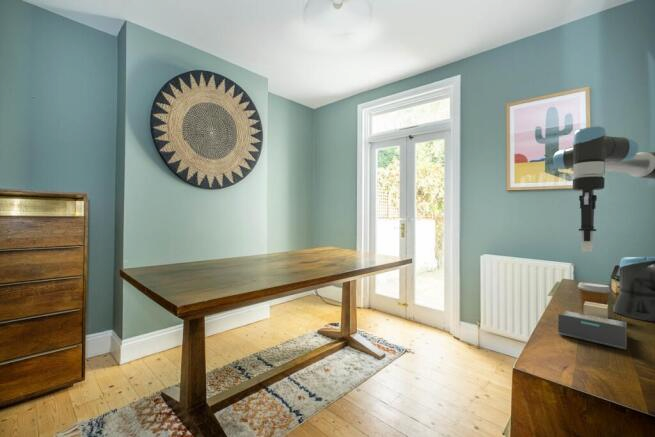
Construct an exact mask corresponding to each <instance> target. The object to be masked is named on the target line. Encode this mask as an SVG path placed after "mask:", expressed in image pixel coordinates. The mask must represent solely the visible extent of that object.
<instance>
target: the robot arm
mask: <svg viewBox="0 0 655 437" xmlns="http://www.w3.org/2000/svg"><path fill="white" fill-rule="evenodd" d="M638 150H639V145H638V142H637V141H636V140H634V139H633V138H628V137H626V136H625V137H623V136H621V137H620V136H608V135H607V133H606V129H605V127H603V126H600V125H599V126H598V125H597V126H587V127H584V128H580V129H578V130H576V131H575V132H574V134H573V143H572V146H571V147H565V148H564V149H560V150H558V151H556V152H555V153H554V155H553V158H552V159H553V161H552V162H553V165H554V167H556V168H557V169H559V170H570V171H571V172H572V174H573V175H572V177H574V178H573V179H572V190H573V191H578V192H581V191H582V193H581V195H579V196H578V200H579V209H580V218H581V219H580V221H581V222H580V228H579V229H578V232H580V231H581V239H580V240H581V241H580V242H581V243H580V244H581V247H580V248H581V250H580V251H581V252H585V253H593V252H594V232H596V231H597V229H595V226H594V223H595V221H594V220H595V218H594V217H595V209H596V208H597V207H596V203H597V200H598V199H597V198H598V196H597V194H594V191H599V190H604V189H605V177H604V176H605V174H606V172H611V173H619V174H621V173H622V174H628V175H629V176H631V177H633V178H640V179H641V178H642V179H648V180H649V179H650V180H651V179H653V180H655V151H651V152H650V151H649V152H647V151H641V152H639V151H638ZM618 268H619V294H618V296H617V298H616V300H615V303H614V304H613V309H612V310H613V313H615V312H616V313H615V314H617V313H618V314H617V315H620V314H621V315H620V316H623V315H624V316H623V317H626V318H631V319H636V320H640V321H641V320H642V321H646V320H647V321H648V322H654V321H655V256H626V257H625V256H623V257H622V258H621V259H620V261H619V267H618Z"/></svg>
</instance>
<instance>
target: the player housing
mask: <svg viewBox="0 0 655 437" xmlns="http://www.w3.org/2000/svg"><path fill="white" fill-rule="evenodd" d="M563 315H568V316H573V317H579V318H584V319H589V320H594V321H599V322H604V323H610V324H615V325H620V326H625V327H626V329H627V321H624V320H619V319H613V318H609V317H608V318H603V317H598V316H592V315H587V314H583V313H580V312H574V311H570V310H564V312H563ZM558 335H562V336H567V337H570V338H575V339H579V340H584V341H586V342H587V341H588V342H591V343H596V344H602V345H604V346H609V347H614V348H617V349H622V350H627V347H626V348H625V347H621V346H617V345H612V344H608V343H603V342H599V341H595V340H590V339H586V338H582V337H577V336H573V335H569V334H564V333H560V332H558Z"/></svg>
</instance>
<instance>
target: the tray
mask: <svg viewBox="0 0 655 437" xmlns="http://www.w3.org/2000/svg"><path fill="white" fill-rule="evenodd" d="M563 314H564V313H563ZM563 314H562V313H558V315H557V317H558V321H557V323H558V324H557V326H558V327H557V330H558V333H559V332H560V333H564V334H569V335H573V336H577V337H582V338H586V339H590V340H595V341H599V342H603V343H608V344H612V345H617V346H621V347H625V348H626V349H627V328H626V327H625V326H620V325H615V324H610V323H604V322H599V321H594V320H589V319H584V318H579V317H573V316H568V315H563Z"/></svg>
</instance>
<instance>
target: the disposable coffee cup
mask: <svg viewBox="0 0 655 437" xmlns="http://www.w3.org/2000/svg"><path fill="white" fill-rule="evenodd" d="M577 288H578V290H579V297H580V304H581V310H582V311H581V312H582V314H584V303H585V301H586V302H592V303H598V304H605V305H608V301H609V296H610V295H609V294H610V293H611V291H612V289H611V288H610V286H609V285H607V284H603V283H597V282H591V281H580V282H579V283H578V285H577Z"/></svg>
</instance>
